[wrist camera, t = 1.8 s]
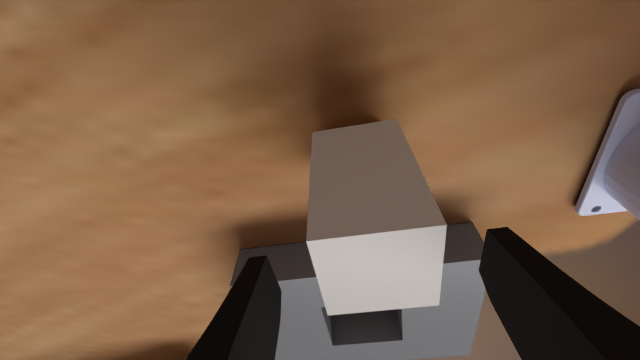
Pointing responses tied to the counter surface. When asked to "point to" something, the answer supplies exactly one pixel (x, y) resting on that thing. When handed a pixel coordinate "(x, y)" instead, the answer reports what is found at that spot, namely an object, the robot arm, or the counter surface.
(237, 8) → the counter surface
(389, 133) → the plug
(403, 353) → the socket plate
